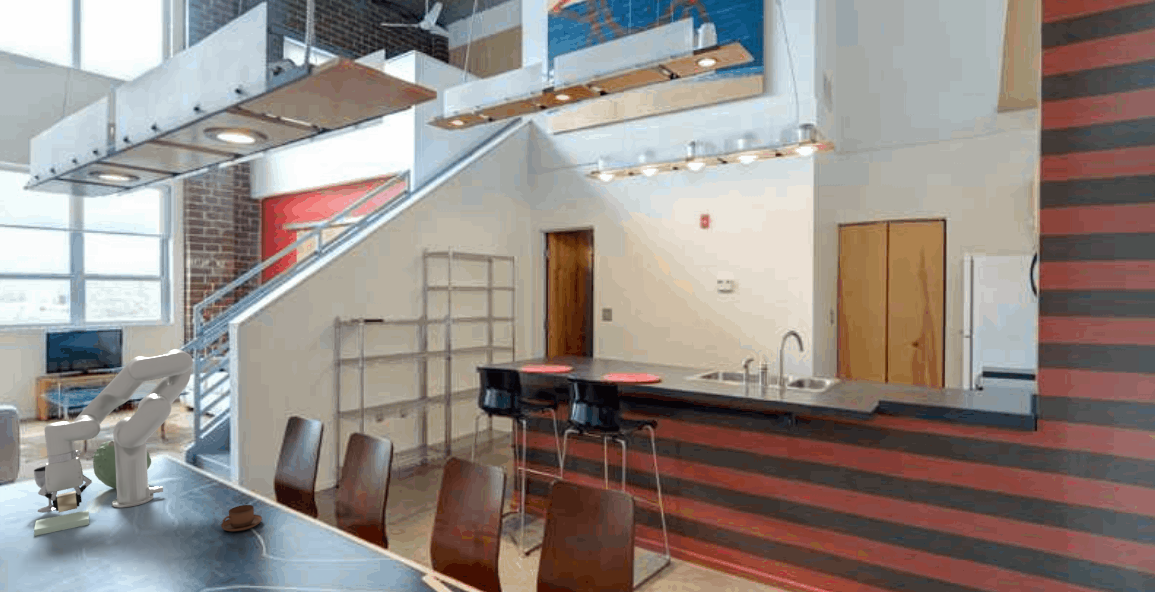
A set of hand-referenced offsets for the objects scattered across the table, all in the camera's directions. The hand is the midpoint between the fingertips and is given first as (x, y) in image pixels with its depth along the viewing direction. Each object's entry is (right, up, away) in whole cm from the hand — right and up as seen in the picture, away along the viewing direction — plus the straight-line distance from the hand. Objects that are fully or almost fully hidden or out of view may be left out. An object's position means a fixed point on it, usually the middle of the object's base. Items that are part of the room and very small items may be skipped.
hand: (67, 506), depth 219 cm
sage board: (+5, -3, -9) cm, 11 cm away
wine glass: (-12, -3, +7) cm, 14 cm away
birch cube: (0, -1, 0) cm, 1 cm away
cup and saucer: (+68, -3, -12) cm, 69 cm away
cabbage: (-1, -2, +29) cm, 29 cm away
